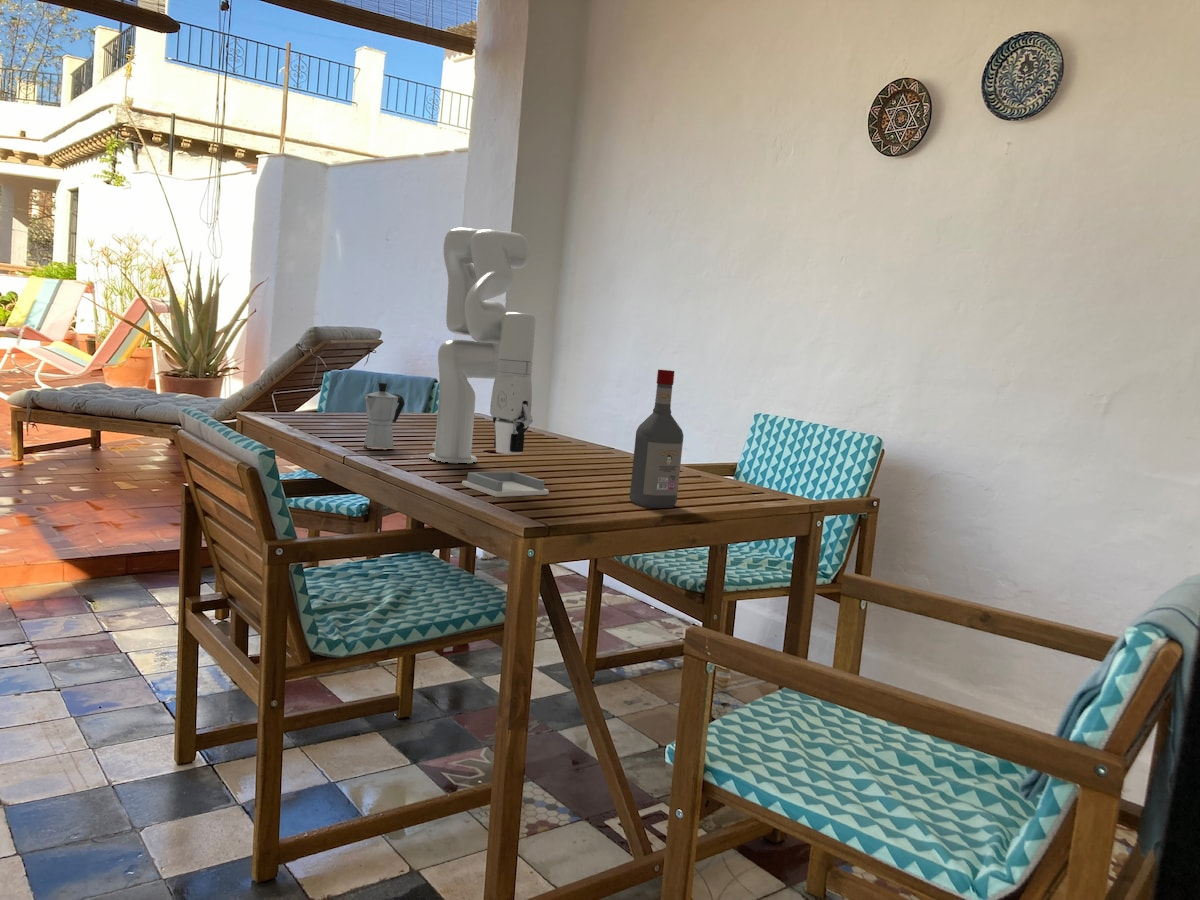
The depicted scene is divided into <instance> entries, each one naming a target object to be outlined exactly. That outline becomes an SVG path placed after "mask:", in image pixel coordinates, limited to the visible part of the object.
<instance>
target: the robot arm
mask: <svg viewBox="0 0 1200 900" xmlns="http://www.w3.org/2000/svg"><path fill="white" fill-rule="evenodd" d="M530 250H531V248H530V245H529V242H528V240H527V238H526V236H524V235H523V234H522V233H517V232H513V231H505V230H497V229H489V228H487V229H480V228H479V229H477V228H471V227H456V228H452V229H450V230H449V231H448V232H447V233H446V235H445V237H444V240H443V259H444V263H445V269H446V272H447V277H448V278H447V279H448V281H447V282H448V284H447V299H446V313H445V314H446V315H445V317H446V318H445V320H446V328H447V330H448V331H449V332H451V333H452V334H456V335H462V336H470V337H471V339H472V340H468V339H467V340H466V339H464V340H463V339H450V340H446V341H444V342H443V343H442V344H441V345H440V346H439V348H438V351H437V361H438V374H439V375H438V377H439V381H438V382H439V385H438V386H439V388H438V403H437V417H436V430H435V431H436V432H435V441H434V442H433V443H431V448H433V449H434V450H433V451H434V452H432V453H431V452H430V453H429V454H428V457H429V458H430V459H432V460H431V461H433V460H436V461H435V462H438V461H441V462H440V463H445V462H448V463H447V464H458V463H467V464H474V463H473V462H475V463H477V462H478V461H477V460H478V457H476V456H475V455H472V449H473V433H474V421H475V420H474V419H475V411H476V409H475V408H476V392H475V390H474V387H472V385H471V384H470V382H469V380H468V379H489V380H491V379H493V380H494V381H493V386H492V390H491V391H492V392H491V398H490V399H491V400H490V409H489V414H490V416H491V418H492V421H493V425H494V426H493V428H494V430H495V432H494V444H493V447H494V448H495V449H496V429H495V421H496V420H507V421H508V420H509V421H512V423H513V433H514V434H511V443H510V451H511V452H521V453H523V452H524V447H525V446H524V444H525V435H527V430H528V429H529V427H530V425H531V424H532V423H533V421H534V420H533V417H532V405H533V402H532V401H533V400H532V398H533V384H532V382H533V381H532V372H533V358H534V357H533V356H534V345H535V344H534V343H535V334H536V318H535V316H534V315H533V314H530V313H527V312H516V311H508V310H506V309H507V308H506V307H505V306H504V305H503V304H502V303H501V302H499V301H494V300H491V299H493V298H496V297H500V296H502V295H504V294H505V293H507V292H508V291H510V289H511V288H512V286H513V284H514V274H513V271H512V269H515V270H518V269H523V268H524V267H526V266H527V264H528V263H529V260H530V254H531V253H530V252H531V251H530ZM517 423H520V425H519V426H517ZM429 458H428V459H429ZM430 459H429V460H430Z"/></svg>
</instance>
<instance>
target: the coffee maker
mask: <svg viewBox="0 0 1200 900" xmlns="http://www.w3.org/2000/svg"><path fill="white" fill-rule="evenodd" d="M387 387H388V383H385V382H378V391H375V392H370V393H367V394H365V395H364V396H365V397H364V398H363V399H364V400H365V407H366V408H365V409H366V418H367V419H368V423H367V430H366V433H365V437H364V442H363V446H364V445H367V446H371V447H383V448H388V447H394V437H393V434H394V433H393V423H396V422H397V421H398V418H399V416H400V415H401V413H402V410H403V408H404V406H405V400H404V398H403V396H401V395H400V394H396V393H395V394H394V393H391V392H390V393H389V392H387V391H386V390H387Z"/></svg>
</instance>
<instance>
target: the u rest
mask: <svg viewBox="0 0 1200 900" xmlns="http://www.w3.org/2000/svg"><path fill="white" fill-rule="evenodd" d="M466 477H467V478H466V479H467V480H462V481H461V486H464V487H467V488H469V489H473V490H475V491H478V492H481V493H484V494H487V495H490V496H492V497H495V498H498V497H499V498H500V497H518V496H519V497H520V496H521V497H523V496H541V495H542V496H545V495H549V493H550V490H549V489H547V488H545V480H543V479H540V478H536V477H534V476H531V475H527V474H524V473H520V472H517V471H512V470H511V471H478V472H477V471H476V472H475V471H474V472H472V471H471V472H470V471H469V472H467V476H466Z"/></svg>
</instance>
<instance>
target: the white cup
mask: <svg viewBox="0 0 1200 900" xmlns="http://www.w3.org/2000/svg"><path fill="white" fill-rule="evenodd" d="M494 425H495V429H496V448H495V453H497V454H505V455H521V454H522V452H511V451H510V443H511V434H514V433H513V423H512V421H509V420H508V421H507V420H496V421H495V424H494ZM519 425H520V423H517V426H519ZM495 429H494V430H495Z"/></svg>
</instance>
